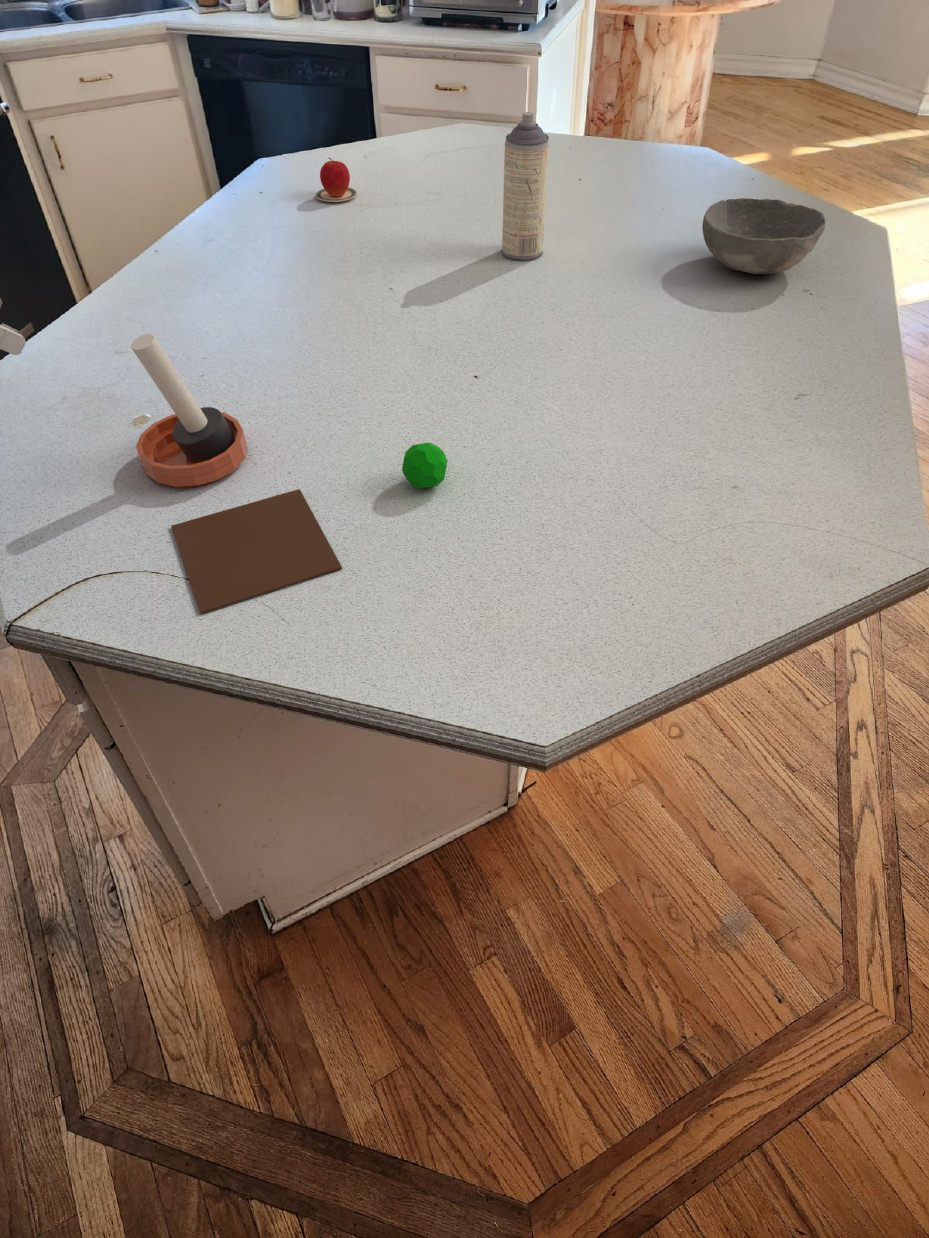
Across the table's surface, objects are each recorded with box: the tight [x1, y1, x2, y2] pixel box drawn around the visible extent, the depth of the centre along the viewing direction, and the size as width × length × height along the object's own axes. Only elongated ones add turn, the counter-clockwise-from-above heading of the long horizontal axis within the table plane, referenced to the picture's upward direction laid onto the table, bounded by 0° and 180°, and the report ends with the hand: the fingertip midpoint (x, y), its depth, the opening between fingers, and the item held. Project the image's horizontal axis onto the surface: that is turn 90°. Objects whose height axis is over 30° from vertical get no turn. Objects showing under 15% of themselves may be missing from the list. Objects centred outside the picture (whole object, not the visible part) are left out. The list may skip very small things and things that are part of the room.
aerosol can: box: [501, 111, 550, 262], centre depth 120 cm, size 7×7×20 cm
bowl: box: [701, 197, 826, 275], centre depth 119 cm, size 18×18×8 cm
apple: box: [315, 157, 358, 203], centre depth 144 cm, size 8×8×6 cm
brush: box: [130, 333, 234, 463], centre depth 82 cm, size 6×6×14 cm
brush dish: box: [135, 411, 248, 488], centre depth 87 cm, size 12×12×3 cm
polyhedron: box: [401, 442, 448, 490], centre depth 82 cm, size 5×5×5 cm
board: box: [170, 488, 343, 615], centre depth 77 cm, size 14×14×1 cm
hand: (9, 324), depth 68 cm, fingers open, 8 cm apart
